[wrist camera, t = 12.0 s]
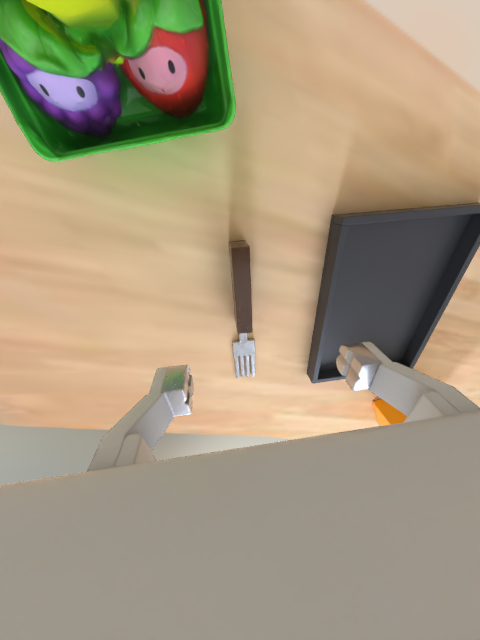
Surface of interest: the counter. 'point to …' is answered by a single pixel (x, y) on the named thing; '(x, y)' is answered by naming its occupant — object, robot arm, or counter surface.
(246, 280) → the fork
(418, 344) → the tray
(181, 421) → the counter surface
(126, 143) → the fruit basket
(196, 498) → the robot arm
